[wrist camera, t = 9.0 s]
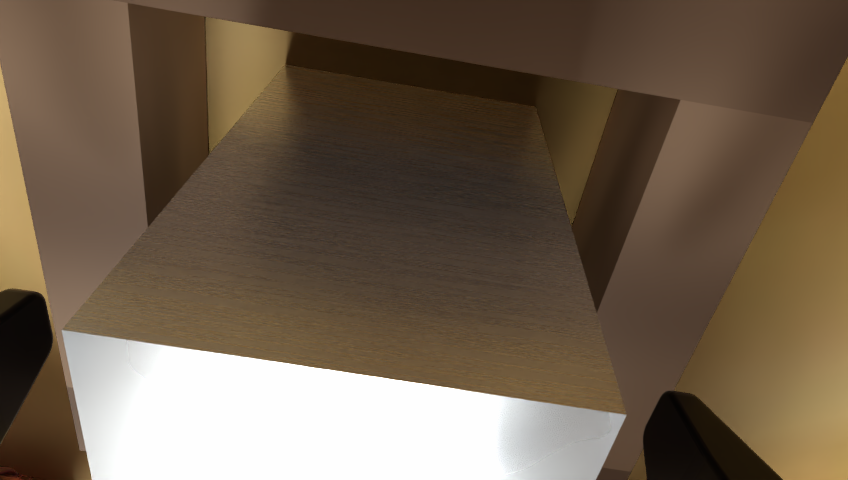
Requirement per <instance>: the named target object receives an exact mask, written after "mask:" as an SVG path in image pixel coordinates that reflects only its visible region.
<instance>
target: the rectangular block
mask: <svg viewBox="0 0 848 480" xmlns="http://www.w3.org/2000/svg"><path fill="white" fill-rule="evenodd" d="M62 335H63V340H64V345H65V349H66V354H67V359H68V364H69V369H70V374H71V379H72V384H73V389H74V394H75V399H76V403H77V408H78V413H79V418H80V423H81V428H82V433H83V438H84V443H85V448H86V453H87V457H88V462H89V467H90V472H91V477H92V480H596V479H597V476H598V474H599V472H600V470H601V468H602V466H603V464H604V462H605V460H606V458H607V455H608V453H609V451H610V449H611V447H612V445H613V443H614V441H615V439H616V436H617V434H618V432H619V430H620V428H621V426H622V424H623V422H624V420H625V417H626V415H627V414H626V411H625V408H624V404H623V401H622V397H621V394H620V391H619V387H618V384H617V380H616V377H615V374H614V370H613V367H612V363H611V360H610V357H609V353H608V350H607V347H606V343H605V340H604V336H603V333H602V330H601V326H600V323H599V319H598V316H597V313H596V309H595V306H594V303H593V299H592V296H591V292H590V289H589V286H588V282H587V279H586V275H585V272H584V269H583V265H582V262H581V259H580V255H579V252H578V248H577V245H576V242H575V238H574V235H573V231H572V228H571V225H570V221H569V218H568V214H567V211H566V208H565V204H564V201H563V198H562V194H561V191H560V187H559V184H558V181H557V177H556V174H555V170H554V167H553V164H552V160H551V157H550V154H549V150H548V147H547V143H546V140H545V137H544V133H543V130H542V126H541V123H540V120H539V116H538V113H537V110H536V107H533V106H527V105H521V104H515V103H510V102H504V101H498V100H492V99H486V98H480V97H474V96H468V95H462V94H456V93H450V92H444V91H439V90H433V89H427V88H421V87H415V86H409V85H403V84H397V83H391V82H385V81H379V80H374V79H368V78H362V77H356V76H350V75H344V74H338V73H332V72H326V71H320V70H314V69H309V68H303V67H297V66H291V65H284V67H283V68H282V69H281V70H280V71H279V73H278V74H277V75H276V76H275V77H274V78H273V80H272V81H271V82H270V83H269V84H268V86H267V87H266V88H265V89H264V90H263V92H262V93H261V94H260V95H259V96H258V97H257V99H256V100H255V101H254V102H253V103H252V105H251V106H250V107H249V108H248V109H247V111H246V112H245V113H244V114H243V115H242V116H241V118H240V119H239V120H238V121H237V122H236V124H235V125H234V126H233V127H232V128H231V129H230V131H229V132H228V133H227V134H226V135H225V137H224V138H223V139H222V140H221V141H220V143H219V144H218V145H217V146H216V147H215V148H214V150H213V151H212V152H211V153H210V154H209V156H208V157H207V158H206V159H205V160H204V162H203V163H202V164H201V165H200V166H199V167H198V169H197V170H196V171H195V172H194V173H193V175H192V176H191V177H190V178H189V179H188V180H187V182H186V183H185V184H184V185H183V186H182V188H181V189H180V190H179V191H178V192H177V194H176V195H175V196H174V197H173V198H172V199H171V201H170V202H169V203H168V204H167V205H166V207H165V208H164V209H163V210H162V211H161V213H160V214H159V215H158V216H157V217H156V218H155V220H154V221H153V222H152V223H151V224H150V226H149V227H148V228H147V229H146V230H145V231H144V233H143V234H142V235H141V236H140V237H139V239H138V240H137V241H136V242H135V243H134V245H133V246H132V247H131V248H130V249H129V250H128V252H127V253H126V254H125V255H124V256H123V258H122V259H121V260H120V261H119V262H118V263H117V265H116V266H115V267H114V268H113V269H112V271H111V272H110V273H109V274H108V275H107V277H106V278H105V279H104V280H103V281H102V282H101V284H100V285H99V286H98V287H97V288H96V290H95V291H94V292H93V293H92V294H91V296H90V297H89V298H88V299H87V300H86V301H85V303H84V304H83V305H82V306H81V307H80V309H79V310H78V311H77V312H76V313H75V314H74V316H73V317H72V318H71V319H70V320H69V322H68V323H67V324H66V325H65V326H64V328H63V329H62Z"/></svg>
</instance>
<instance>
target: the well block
mask: <svg viewBox="0 0 848 480" xmlns="http://www.w3.org/2000/svg"><path fill="white" fill-rule="evenodd" d="M205 17H211V18H216V19H222V20H228V21H233V22H239V23H245V24H251V25H256V26H262V27H268V28H273V29H279V30H285V31H291V32H296V33H302V34H308V35H313V36H319V37H325V38H331V39H336V40H342V41H348V42H353V43H359V44H365V45H370V46H376V47H382V48H388V49H393V50H399V51H405V52H410V53H416V54H422V55H428V56H433V57H439V58H445V59H450V60H456V61H462V62H468V63H473V64H479V65H485V66H490V67H496V68H502V69H507V70H513V71H519V72H525V73H530V74H536V75H542V76H547V77H553V78H559V79H565V80H570V81H576V82H582V83H587V84H593V85H599V86H605V87H610V88H616V89H618V91H617V94H616V97H615V100H614V103H613V106H612V109H611V112H610V115H609V118H608V121H607V124H606V127H605V130H604V133H603V136H602V139H601V142H600V145H599V148H598V151H597V154H596V157H595V160H594V163H593V166H592V169H591V172H590V175H589V178H588V181H587V184H586V187H585V190H584V193H583V196H582V199H581V202H580V205H579V208H578V211H577V214H576V217H575V220H574V223H573V226H572V231H573V235H574V238H575V242H576V245H577V248H578V252H579V255H580V259H581V262H582V265H583V269H584V272H585V275H586V279H587V282H588V286H589V289H590V292H591V296H592V299H593V303H594V306H595V309H596V313H597V316H598V319H599V323H600V326H601V330H602V333H603V336H604V340H605V343H606V347H607V350H608V353H609V357H610V360H611V363H612V367H613V370H614V374H615V377H616V380H617V384H618V387H619V391H620V394H621V397H622V401H623V404H624V408H625V411H626V414H627V415H626V417H625V420H624V422H623V424H622V426H621V428H620V430H619V432H618V434H617V436H616V439H615V441H614V443H613V445H612V447H611V449H610V451H609V453H608V455H607V458H606V460H605V462H604V464H603V466H602V468H601V470H600V472H599V474H598V476H597V479H596V480H627V479H628V477H629V475H630V473H631V471H632V469H633V468H634V466H635V464H636V462H637V460H638V458H639V456H640V454H641V452H642V450H643V433H644V429H645V426H646V424H647V422H648V420H649V418H650V416H651V414H652V412H653V410H654V408H655V406H656V404H657V402H658V400H659V398H660V397H661V395H662V394H663V393H664V392H666V391H674V389H675V387H676V385H677V383H678V381H679V379H680V377H681V375H682V374H683V372H684V370H685V368H686V366H687V364H688V362H689V360H690V358H691V356H692V354H693V352H694V351H695V349H696V347H697V345H698V343H699V341H700V339H701V337H702V335H703V333H704V331H705V329H706V327H707V326H708V324H709V322H710V320H711V318H712V316H713V314H714V312H715V310H716V308H717V306H718V304H719V303H720V301H721V299H722V297H723V295H724V293H725V291H726V289H727V287H728V285H729V283H730V281H731V280H732V278H733V276H734V274H735V272H736V270H737V268H738V266H739V264H740V262H741V260H742V258H743V257H744V255H745V253H746V251H747V249H748V247H749V245H750V243H751V241H752V239H753V237H754V235H755V233H756V232H757V230H758V228H759V226H760V224H761V222H762V220H763V218H764V216H765V214H766V212H767V210H768V209H769V207H770V205H771V203H772V201H773V199H774V197H775V195H776V193H777V191H778V189H779V187H780V186H781V184H782V182H783V180H784V178H785V176H786V174H787V172H788V170H789V168H790V166H791V164H792V163H793V161H794V159H795V157H796V155H797V153H798V151H799V149H800V147H801V145H802V143H803V141H804V139H805V138H806V136H807V134H808V132H809V130H810V128H811V126H812V124H813V122H814V120H815V118H816V116H817V115H818V113H819V111H820V109H821V107H822V105H823V103H824V101H825V99H826V97H827V95H828V93H829V92H830V90H831V88H832V86H833V84H834V82H835V80H836V78H837V76H838V74H839V72H840V70H841V69H842V67H843V65H844V63H845V61H846V59H847V57H848V0H0V64H1V69H2V74H3V78H4V83H5V88H6V93H7V98H8V103H9V108H10V113H11V118H12V122H13V127H14V132H15V137H16V142H17V147H18V152H19V157H20V161H21V166H22V171H23V176H24V181H25V186H26V191H27V196H28V200H29V205H30V210H31V215H32V220H33V225H34V230H35V235H36V239H37V244H38V249H39V254H40V259H41V264H42V269H43V274H44V279H45V283H46V288H47V293H48V298H49V303H50V308H51V313H52V318H53V322H54V327H55V332H56V337H57V342H58V347H59V352H60V357H61V361H62V366H63V371H64V376H65V381H66V386H67V391H68V396H69V401H70V405H71V410H72V415H73V420H74V425H75V430H76V435H77V440H78V444H79V449H80V451H86V448H85V443H84V438H83V433H82V428H81V423H80V418H79V413H78V408H77V403H76V399H75V394H74V389H73V384H72V379H71V374H70V369H69V364H68V359H67V354H66V349H65V345H64V340H63V335H62V329H63V328H64V326H65V325H66V324H67V323H68V322H69V320H70V319H71V318H72V317H73V316H74V314H75V313H76V312H77V311H78V310H79V309H80V307H81V306H82V305H83V304H84V303H85V301H86V300H87V299H88V298H89V297H90V296H91V294H92V293H93V292H94V291H95V290H96V288H97V287H98V286H99V285H100V284H101V282H102V281H103V280H104V279H105V278H106V277H107V275H108V274H109V273H110V272H111V271H112V269H113V268H114V267H115V266H116V265H117V263H118V262H119V261H120V260H121V259H122V258H123V256H124V255H125V254H126V253H127V252H128V250H129V249H130V248H131V247H132V246H133V245H134V243H135V242H136V241H137V240H138V239H139V237H140V236H141V235H142V234H143V233H144V231H145V230H146V229H147V228H148V227H149V226H150V224H151V223H152V222H153V221H154V220H155V218H156V217H157V216H158V215H159V214H160V213H161V211H162V210H163V209H164V208H165V207H166V205H167V204H168V203H169V202H170V201H171V199H172V198H173V197H174V196H175V195H176V194H177V192H178V191H179V190H180V189H181V188H182V186H183V185H184V184H185V183H186V182H187V180H188V179H189V178H190V177H191V176H192V175H193V173H194V172H195V171H196V170H197V169H198V167H199V166H200V165H201V164H202V163H203V162H204V160H205V159H206V158H207V157H208V121H207V86H206V50H205Z"/></svg>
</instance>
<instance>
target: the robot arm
mask: <svg viewBox="0 0 848 480" xmlns="http://www.w3.org/2000/svg"><path fill="white" fill-rule="evenodd" d="M52 343H53V334H52V329H51V325H50V320H49V315H48V310H47V306H46V301H45V298H44V297H43V296H42V295H41V294H40V293H38V292H34V291H27V290H21V289H7V290H4V291H2V292H0V444H1V443H2V441H3V439H4V438H5V436H6V434H7V432H8V430H9V429H10V427H11V425H12V423H13V421H14V419H15V417H16V415H17V414H18V412H19V410H20V408H21V406H22V404H23V402H24V400H25V399H26V397H27V395H28V393H29V391H30V389H31V387H32V385H33V384H34V382H35V380H36V378H37V376H38V374H39V372H40V370H41V369H42V367H43V365H44V363H45V361H46V359H47V357H48V355H49V353H50V351H51V348H52ZM643 449H644V457H645V466H646V474H647V480H783V479H782V478H781V477H780V476H779V475H778V474H777V473H776V472H775V471H774V470H773V469H771V468H770V467H769V466H768V465H767V464H766V463H765V462H764V461H763V460H762V459H761V458H760V457H759V456H758V455H757V454H756V453H755V452H754V451H753V450H752V449H751V448H750V447H749V446H748V445H747V444H746V443H744V442H743V441H742V440H741V439H740V438H739V437H738V436H737V435H736V434H735V433H734V432H733V431H732V430H731V429H730V428H729V427H728V426H727V425H726V424H725V423H724V422H723V421H722V420H721V419H720V418H718V417H717V416H716V415H715V414H714V413H713V412H712V411H711V410H710V409H709V408H708V407H707V406H706V405H705V404H704V403H703V402H702V401H701V400H700V399H699V398H697V397H696V396H695V395H693V394H690V393H683V392H677V391H666V392H664V393H663V394H662V395H661V397H660V398H659V400H658V402H657V404H656V406H655V408H654V410H653V412H652V414H651V416H650V418H649V420H648V422H647V424H646V426H645V429H644V433H643Z"/></svg>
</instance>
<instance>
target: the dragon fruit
mask: <svg viewBox="0 0 848 480" xmlns="http://www.w3.org/2000/svg"><path fill="white" fill-rule="evenodd" d="M18 475H20V477H17V476H18ZM22 476H25V475H22V474H19V473H17V472H16V471H15V470H14V469H13V468H10V467H0V480H23V479H21V477H22ZM28 478H29V479H28V480H31V478H34V477H29V476H28ZM37 478H38V477H37Z"/></svg>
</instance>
